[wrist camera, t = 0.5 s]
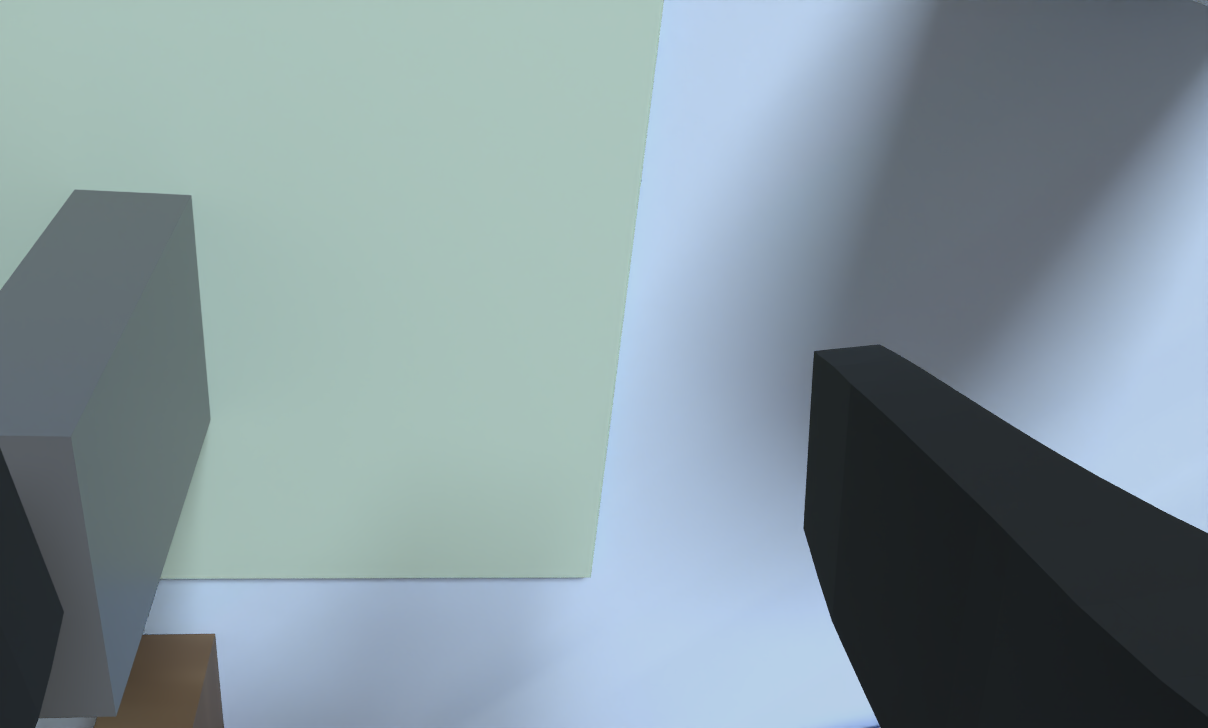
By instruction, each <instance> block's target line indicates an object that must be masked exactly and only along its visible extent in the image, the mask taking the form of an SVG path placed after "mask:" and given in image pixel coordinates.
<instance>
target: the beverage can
mask: <svg viewBox="0 0 1208 728" xmlns="http://www.w3.org/2000/svg"><path fill="white" fill-rule="evenodd" d="M1193 1H1196V2H1198V3H1201V4H1203V5H1206V6H1208V0H1193Z"/></svg>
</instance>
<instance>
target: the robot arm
mask: <svg viewBox="0 0 1208 728" xmlns="http://www.w3.org/2000/svg"><path fill="white" fill-rule="evenodd" d="M804 531H805V535H806V538H807V542H808V545H809V548H810V552H811V555H812V559H813V562H814V565H815V569H816V572H817V576H818V579H819V582H820V585H821V588H822V591H823V594H824V598H825V601H826V604H827V607H828V610H829V613H830V616H831V619H832V622H833V624H834V626H835V629H836V631H837V633H838V635H839V638H840V640H841V642H842V645H843V647H844V649H845V651H846V653H847V655H848V658H849V660H850V662H851V664H852V666H853V669H854V671H855V673H856V675H857V677H858V680H859V682H860V684H861V686H862V688H863V690H864V693H865V695H866V697H867V699H868V701H869V703H870V706H871V708H872V710H873V712H874V714H875V716H876V718H877V721H878V723H879V725H880V727H879V728H1208V533H1206V532H1204V531H1202V530H1200V529H1198V528H1196V527H1194V526H1192V525H1190V524H1188V523H1186V522H1184V521H1182V520H1180V519H1178V518H1176V517H1174V516H1172V515H1170V514H1168V513H1166V512H1164V511H1162V510H1160V509H1158V508H1156V507H1154V506H1153V505H1151V504H1149V503H1147V502H1145V501H1143V500H1141V499H1139V498H1138V497H1136V496H1134V495H1132V494H1130V493H1128V492H1126V491H1125V490H1123V489H1121V488H1119V487H1117V486H1115V485H1113V484H1111V483H1110V482H1108V481H1106V480H1104V479H1102V478H1100V477H1098V476H1097V475H1095V474H1093V473H1091V472H1090V471H1088V470H1086V469H1084V468H1083V467H1081V466H1079V465H1077V464H1076V463H1074V462H1072V461H1070V460H1069V459H1067V458H1065V457H1063V456H1062V455H1060V454H1058V453H1057V452H1055V451H1053V450H1052V449H1050V448H1048V447H1046V446H1045V445H1043V444H1041V443H1040V442H1038V441H1036V440H1035V439H1033V438H1031V437H1030V436H1028V435H1027V434H1025V433H1023V432H1022V431H1020V430H1018V429H1017V428H1015V427H1013V426H1012V425H1010V424H1009V423H1007V422H1005V421H1004V420H1002V419H1001V418H999V417H997V416H996V415H994V414H992V413H991V412H989V411H988V410H986V409H984V408H983V407H981V406H980V405H978V404H977V403H975V402H973V401H972V400H970V399H969V398H967V397H966V396H964V395H962V394H961V393H959V392H958V391H956V390H954V389H953V388H951V387H950V386H948V385H947V384H945V383H943V382H942V381H940V380H939V379H937V378H936V377H934V376H932V375H931V374H929V373H928V372H926V371H924V370H923V369H921V368H920V367H918V366H916V365H915V364H913V363H911V362H910V361H908V360H906V359H905V358H903V357H901V356H900V355H898V354H896V353H894V352H893V351H891V350H889V349H887V348H885V347H883V346H881V345H870V346H860V347H850V348H840V349H830V350H820V351H814V360H813V377H812V394H811V411H810V428H809V445H808V461H807V478H806V495H805V512H804ZM63 615H64V610H63V608H62V605H61V603H60V600H59V598H58V595H57V592H56V590H55V587H54V585H53V582H52V580H51V577H50V574H49V572H48V569H47V567H46V564H45V562H44V559H43V556H42V554H41V551H40V549H39V546H38V544H37V541H36V538H35V536H34V533H33V531H32V528H31V526H30V523H29V520H28V518H27V515H26V513H25V510H24V508H23V505H22V502H21V500H20V497H19V495H18V492H17V490H16V487H15V484H14V482H13V479H12V477H11V474H10V472H9V469H8V466H7V464H6V461H5V459H4V456H3V454H2V451H1V448H0V728H35V726H36V724H37V721H38V718H39V716H40V712H41V708H42V704H43V700H44V696H45V692H46V689H47V685H48V681H49V677H50V673H51V669H52V665H53V660H54V656H55V651H56V647H57V642H58V638H59V633H60V628H61V624H62V619H63Z"/></svg>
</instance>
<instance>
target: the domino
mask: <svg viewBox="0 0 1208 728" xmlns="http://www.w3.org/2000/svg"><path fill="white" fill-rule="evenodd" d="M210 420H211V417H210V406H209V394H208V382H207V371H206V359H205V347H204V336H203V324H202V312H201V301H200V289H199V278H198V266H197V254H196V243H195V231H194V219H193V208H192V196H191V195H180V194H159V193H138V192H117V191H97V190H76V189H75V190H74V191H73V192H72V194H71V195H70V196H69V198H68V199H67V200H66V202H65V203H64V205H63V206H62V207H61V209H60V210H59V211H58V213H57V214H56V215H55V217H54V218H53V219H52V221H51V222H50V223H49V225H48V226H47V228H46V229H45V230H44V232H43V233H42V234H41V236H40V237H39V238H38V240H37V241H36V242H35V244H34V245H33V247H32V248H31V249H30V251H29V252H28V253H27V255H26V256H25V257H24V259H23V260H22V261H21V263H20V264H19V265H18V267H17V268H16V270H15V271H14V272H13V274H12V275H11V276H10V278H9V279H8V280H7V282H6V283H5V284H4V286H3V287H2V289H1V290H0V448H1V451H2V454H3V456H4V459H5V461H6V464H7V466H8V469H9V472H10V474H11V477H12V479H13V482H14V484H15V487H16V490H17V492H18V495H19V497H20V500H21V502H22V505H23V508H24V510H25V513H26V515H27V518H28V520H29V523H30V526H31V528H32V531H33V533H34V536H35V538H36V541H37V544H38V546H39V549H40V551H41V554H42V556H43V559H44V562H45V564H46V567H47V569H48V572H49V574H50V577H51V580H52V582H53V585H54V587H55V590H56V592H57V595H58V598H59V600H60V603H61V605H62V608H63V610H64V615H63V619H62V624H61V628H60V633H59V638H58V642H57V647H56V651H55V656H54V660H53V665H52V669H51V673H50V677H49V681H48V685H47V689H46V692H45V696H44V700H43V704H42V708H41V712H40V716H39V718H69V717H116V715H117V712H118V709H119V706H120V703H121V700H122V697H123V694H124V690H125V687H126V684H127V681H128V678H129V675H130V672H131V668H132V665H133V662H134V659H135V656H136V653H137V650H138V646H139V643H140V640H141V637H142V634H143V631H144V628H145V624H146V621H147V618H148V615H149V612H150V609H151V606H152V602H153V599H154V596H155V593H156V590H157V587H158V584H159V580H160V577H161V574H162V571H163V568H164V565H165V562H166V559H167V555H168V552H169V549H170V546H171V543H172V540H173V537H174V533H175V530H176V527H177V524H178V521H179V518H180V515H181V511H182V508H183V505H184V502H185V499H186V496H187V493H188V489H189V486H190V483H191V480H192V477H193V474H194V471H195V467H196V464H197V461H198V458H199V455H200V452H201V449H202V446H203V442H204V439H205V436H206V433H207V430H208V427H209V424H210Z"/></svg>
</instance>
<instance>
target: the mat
mask: <svg viewBox="0 0 1208 728" xmlns="http://www.w3.org/2000/svg"><path fill="white" fill-rule="evenodd" d="M663 3H664V0H0V290H1V289H2V287H3V286H4V284H5V283H6V282H7V280H8V279H9V278H10V276H11V275H12V274H13V272H14V271H15V270H16V268H17V267H18V265H19V264H20V263H21V261H22V260H23V259H24V257H25V256H26V255H27V253H28V252H29V251H30V249H31V248H32V247H33V245H34V244H35V242H36V241H37V240H38V238H39V237H40V236H41V234H42V233H43V232H44V230H45V229H46V228H47V226H48V225H49V223H50V222H51V221H52V219H53V218H54V217H55V215H56V214H57V213H58V211H59V210H60V209H61V207H62V206H63V205H64V203H65V202H66V200H67V199H68V198H69V196H70V195H71V194H72V192H73V191H74V190H75V189H76V190H97V191H117V192H138V193H159V194H180V195H191V196H192V208H193V219H194V231H195V243H196V254H197V266H198V278H199V289H200V301H201V312H202V324H203V336H204V347H205V359H206V371H207V382H208V394H209V406H210V417H211V420H210V424H209V427H208V430H207V433H206V436H205V439H204V442H203V446H202V449H201V452H200V455H199V458H198V461H197V464H196V467H195V471H194V474H193V477H192V480H191V483H190V486H189V489H188V493H187V496H186V499H185V502H184V505H183V508H182V511H181V515H180V518H179V521H178V524H177V527H176V530H175V533H174V537H173V540H172V543H171V546H170V549H169V552H168V555H167V559H166V562H165V565H164V568H163V571H162V574H161V577H160V579H263V578H584V577H591V571H592V563H593V555H594V548H595V540H596V532H597V524H598V516H599V508H600V500H601V492H602V484H603V477H604V469H605V461H606V453H607V445H608V437H609V429H610V421H611V413H612V406H613V398H614V390H615V382H616V374H617V366H618V358H619V350H620V342H621V334H622V327H623V319H624V311H625V303H626V295H627V287H628V279H629V271H630V263H631V256H632V248H633V240H634V232H635V224H636V216H637V208H638V200H639V192H640V185H641V177H642V169H643V161H644V153H645V145H646V137H647V129H648V121H649V114H650V106H651V98H652V90H653V82H654V74H655V66H656V58H657V50H658V43H659V35H660V27H661V19H662V11H663Z"/></svg>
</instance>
